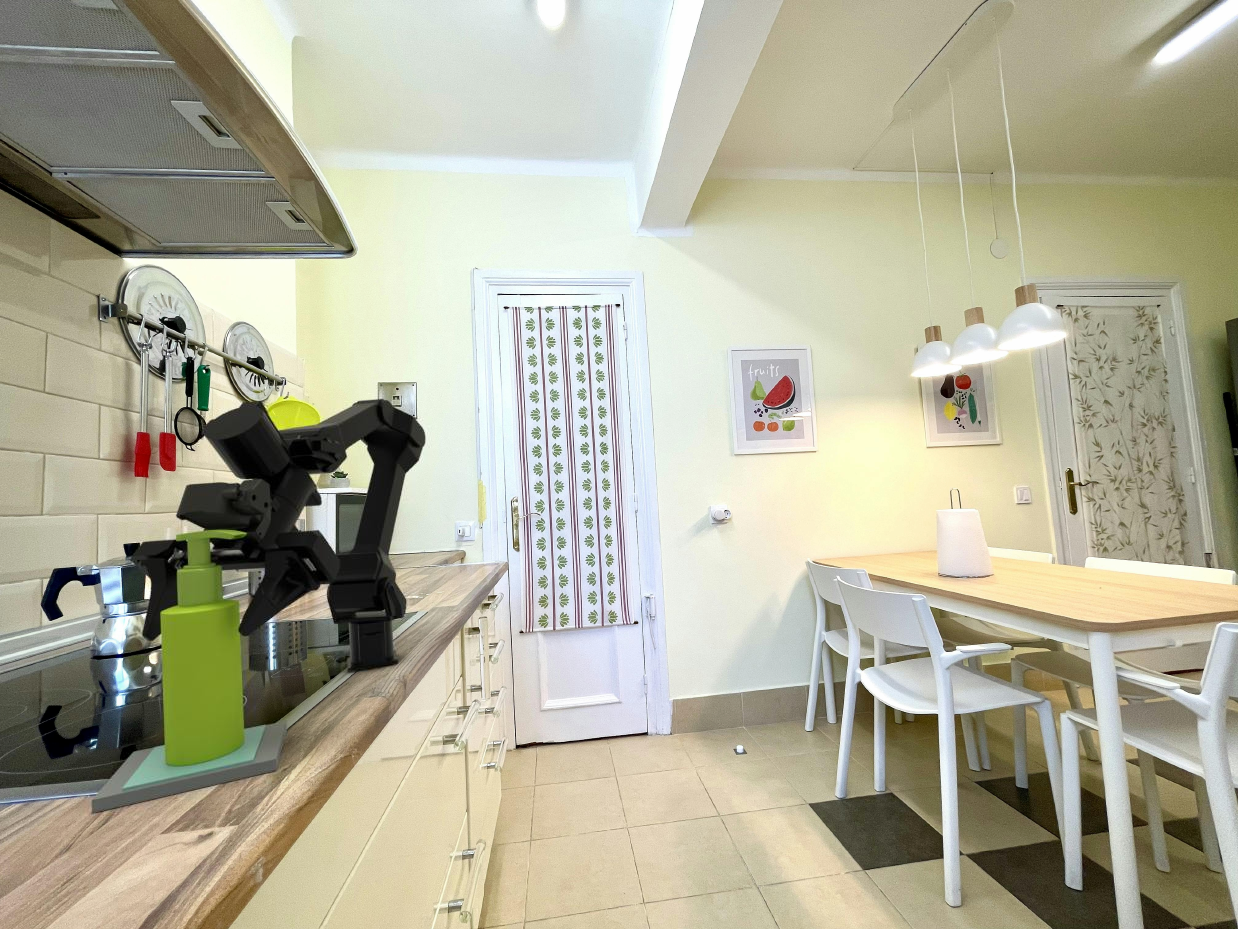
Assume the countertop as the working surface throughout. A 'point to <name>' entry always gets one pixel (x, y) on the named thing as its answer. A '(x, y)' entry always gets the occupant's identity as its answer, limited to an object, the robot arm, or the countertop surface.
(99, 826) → the countertop surface
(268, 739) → the board
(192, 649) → the soap dispenser
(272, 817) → the countertop surface
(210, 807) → the countertop surface
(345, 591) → the robot arm
